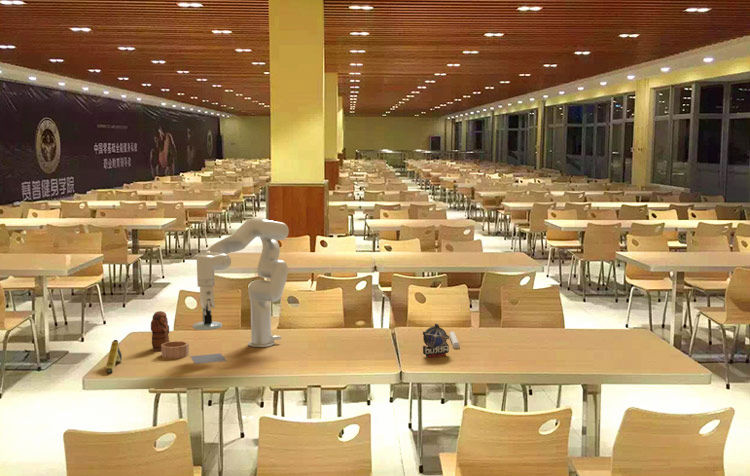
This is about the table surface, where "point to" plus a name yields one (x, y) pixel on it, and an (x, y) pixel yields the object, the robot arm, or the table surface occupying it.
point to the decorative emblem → (435, 342)
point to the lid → (207, 325)
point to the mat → (208, 358)
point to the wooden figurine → (159, 330)
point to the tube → (454, 340)
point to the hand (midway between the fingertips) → (207, 322)
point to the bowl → (175, 349)
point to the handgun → (113, 356)
